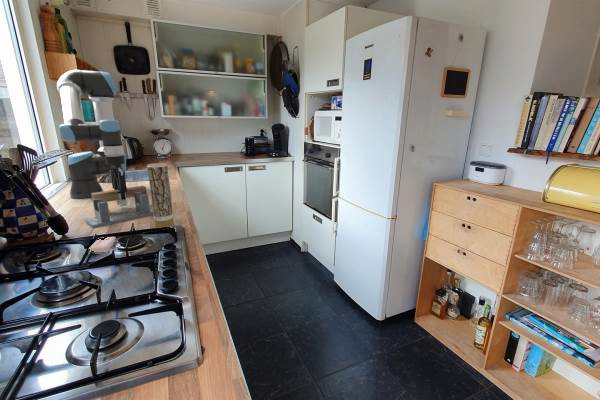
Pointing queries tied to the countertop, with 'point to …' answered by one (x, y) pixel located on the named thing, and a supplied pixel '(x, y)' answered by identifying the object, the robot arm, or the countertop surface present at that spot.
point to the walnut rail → (114, 195)
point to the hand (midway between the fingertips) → (122, 205)
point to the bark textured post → (160, 195)
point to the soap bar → (103, 244)
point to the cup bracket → (105, 218)
